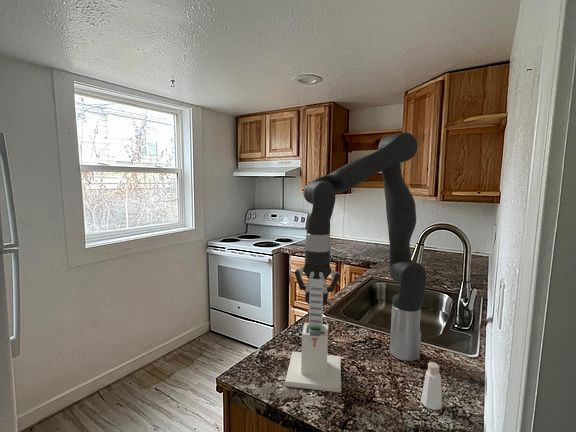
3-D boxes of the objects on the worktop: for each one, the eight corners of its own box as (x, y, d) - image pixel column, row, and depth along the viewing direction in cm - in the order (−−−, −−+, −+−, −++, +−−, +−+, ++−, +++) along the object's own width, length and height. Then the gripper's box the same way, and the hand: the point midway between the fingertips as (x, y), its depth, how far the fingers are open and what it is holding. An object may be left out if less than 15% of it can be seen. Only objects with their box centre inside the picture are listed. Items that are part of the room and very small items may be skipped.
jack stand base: (340, 360, 101) (341, 316, 99) (341, 392, 85) (342, 341, 84) (292, 355, 103) (293, 312, 102) (284, 386, 88) (285, 335, 86)
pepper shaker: (435, 413, 78) (438, 373, 77) (416, 401, 82) (418, 363, 81) (446, 405, 81) (449, 366, 80) (427, 393, 85) (429, 356, 84)
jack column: (321, 343, 95) (323, 275, 93) (321, 351, 91) (323, 279, 89) (309, 342, 96) (310, 274, 93) (308, 350, 91) (309, 279, 89)
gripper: (341, 246, 93) (339, 300, 95) (295, 244, 95) (294, 297, 97) (342, 252, 86) (340, 310, 87) (292, 249, 88) (291, 306, 89)
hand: (316, 303), depth 92 cm, fingers closed on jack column, 4 cm apart
